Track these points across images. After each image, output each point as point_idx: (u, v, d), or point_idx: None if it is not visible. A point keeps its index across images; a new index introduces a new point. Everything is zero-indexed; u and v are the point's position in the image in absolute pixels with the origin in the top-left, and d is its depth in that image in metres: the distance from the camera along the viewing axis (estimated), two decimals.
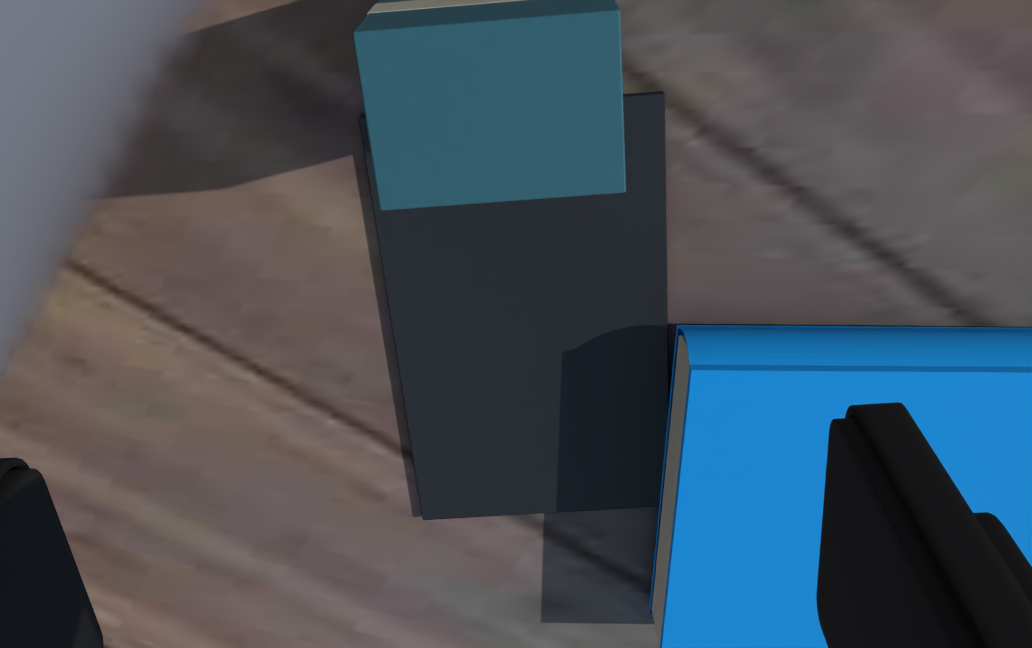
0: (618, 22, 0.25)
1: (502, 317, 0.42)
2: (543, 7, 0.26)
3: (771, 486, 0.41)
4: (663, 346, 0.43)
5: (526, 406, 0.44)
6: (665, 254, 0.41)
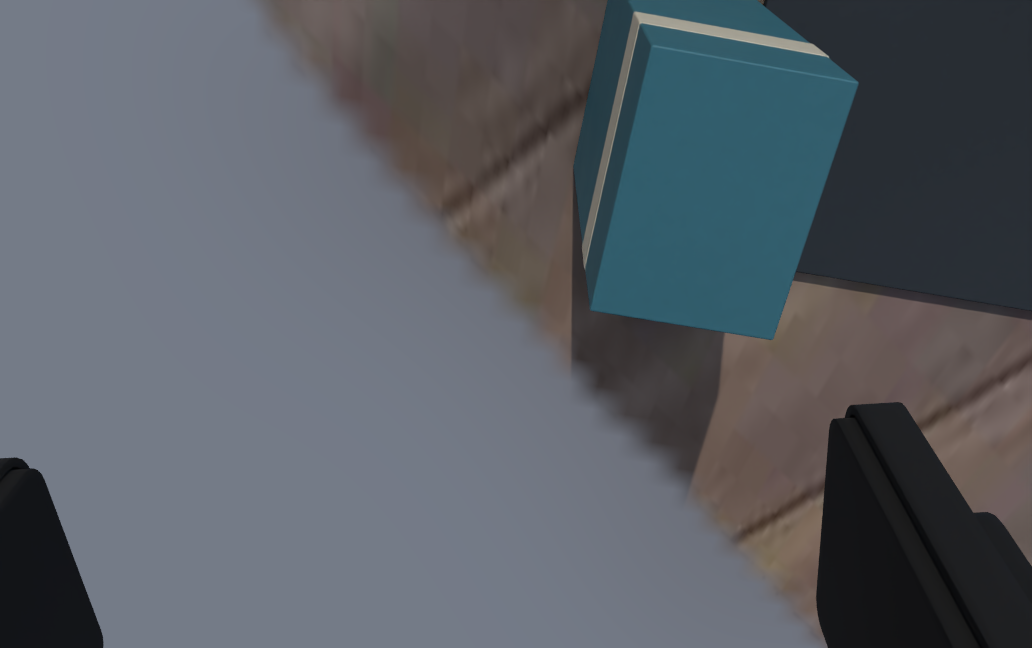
0: (664, 49, 0.22)
1: (973, 176, 0.36)
2: (627, 112, 0.24)
3: None
4: None
5: None
6: None
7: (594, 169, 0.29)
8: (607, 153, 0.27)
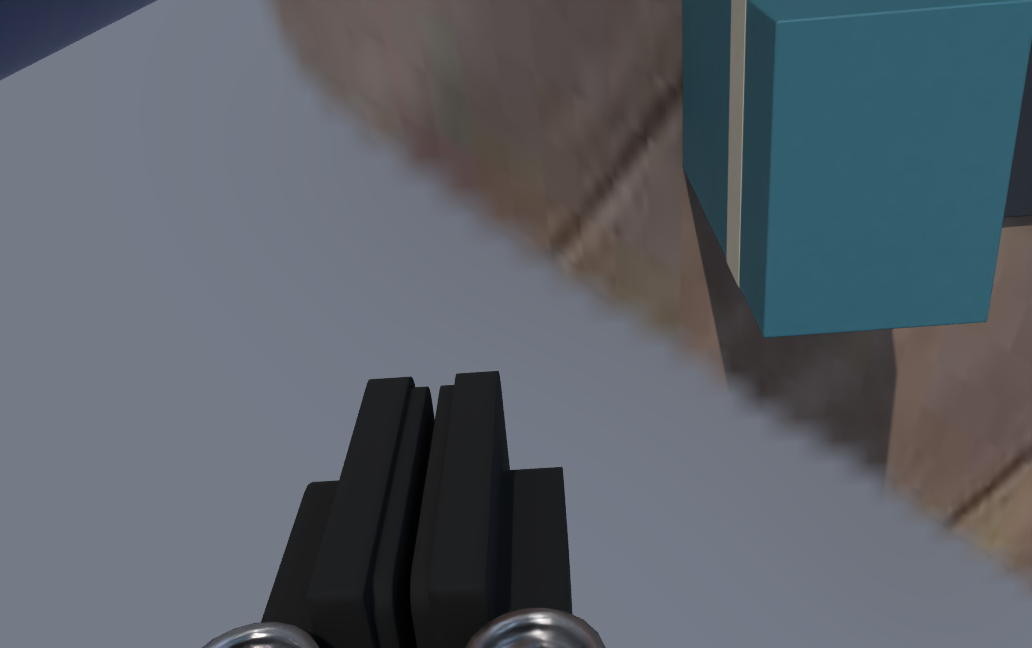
0: (792, 22, 0.19)
1: None
2: (758, 104, 0.21)
3: None
4: None
5: None
6: None
7: (719, 171, 0.26)
8: (737, 153, 0.23)
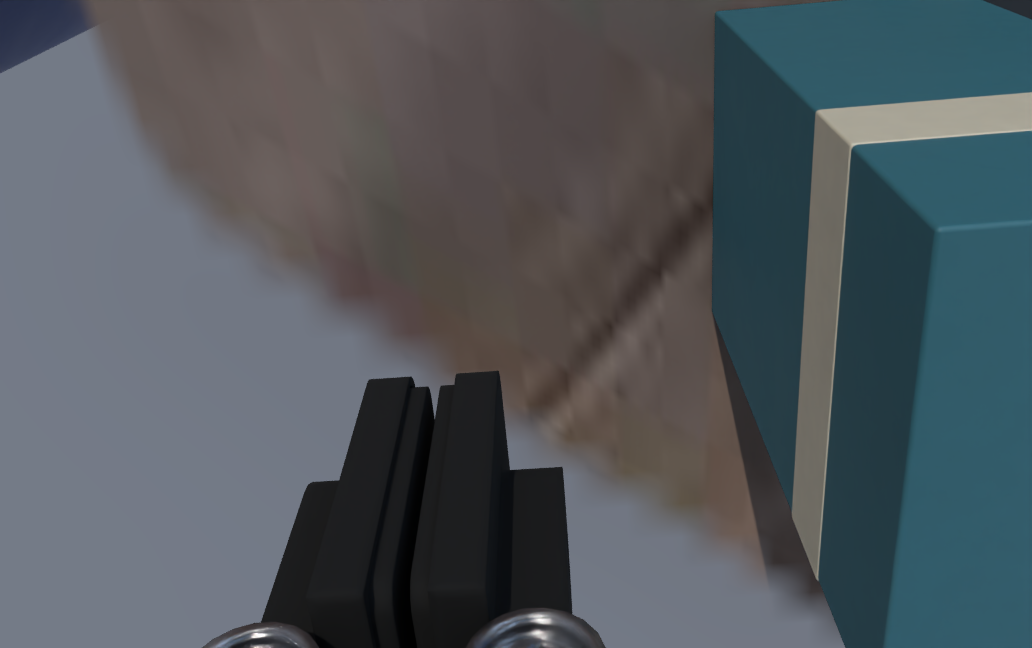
0: (969, 231, 0.10)
1: None
2: (875, 341, 0.12)
3: None
4: None
5: None
6: None
7: (780, 374, 0.17)
8: (821, 381, 0.14)
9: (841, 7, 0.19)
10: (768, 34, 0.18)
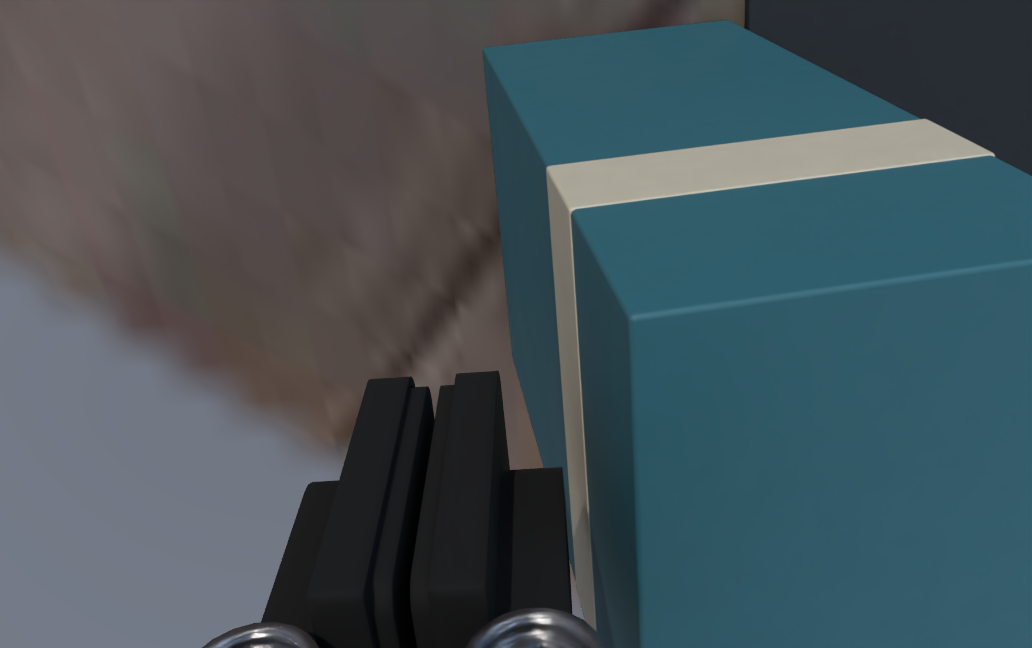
0: (665, 318, 0.08)
1: None
2: (605, 426, 0.10)
3: None
4: None
5: None
6: None
7: (556, 438, 0.15)
8: (578, 456, 0.13)
9: (609, 41, 0.19)
10: (527, 74, 0.17)
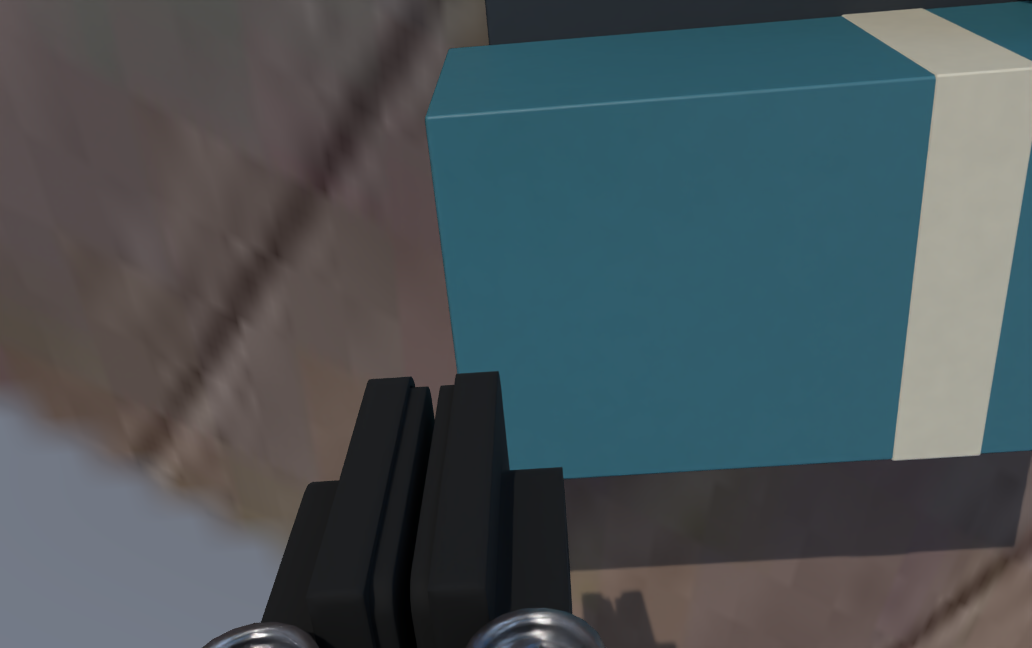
0: None
1: None
2: None
3: None
4: None
5: None
6: None
7: (834, 364, 0.17)
8: (980, 291, 0.16)
9: (481, 76, 0.17)
10: (597, 94, 0.15)
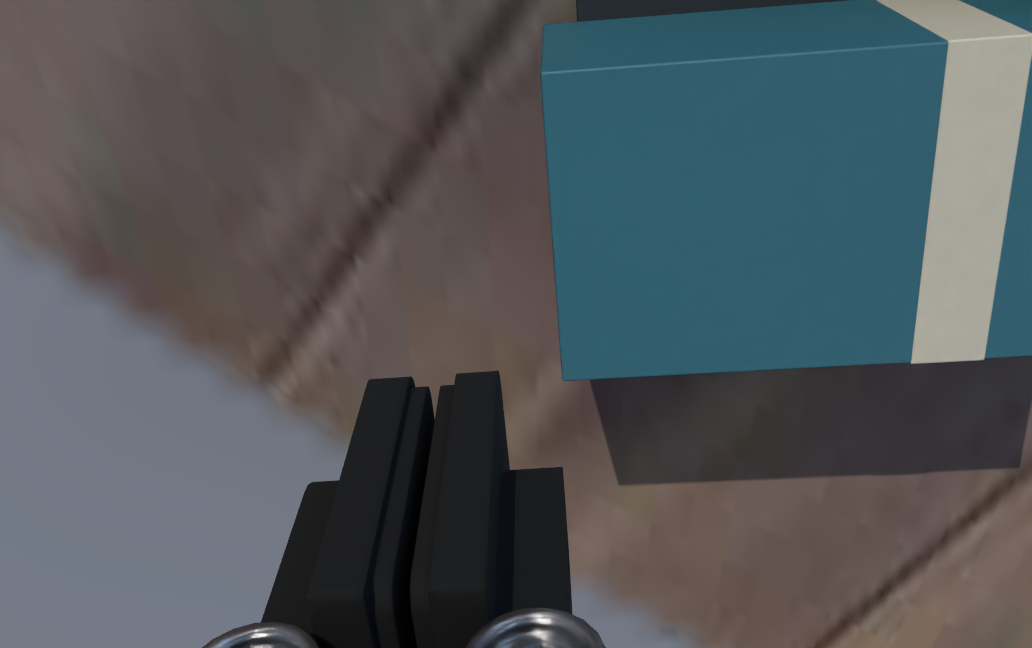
0: None
1: None
2: None
3: None
4: None
5: None
6: None
7: (864, 280, 0.21)
8: (983, 219, 0.20)
9: (577, 44, 0.21)
10: (676, 56, 0.19)
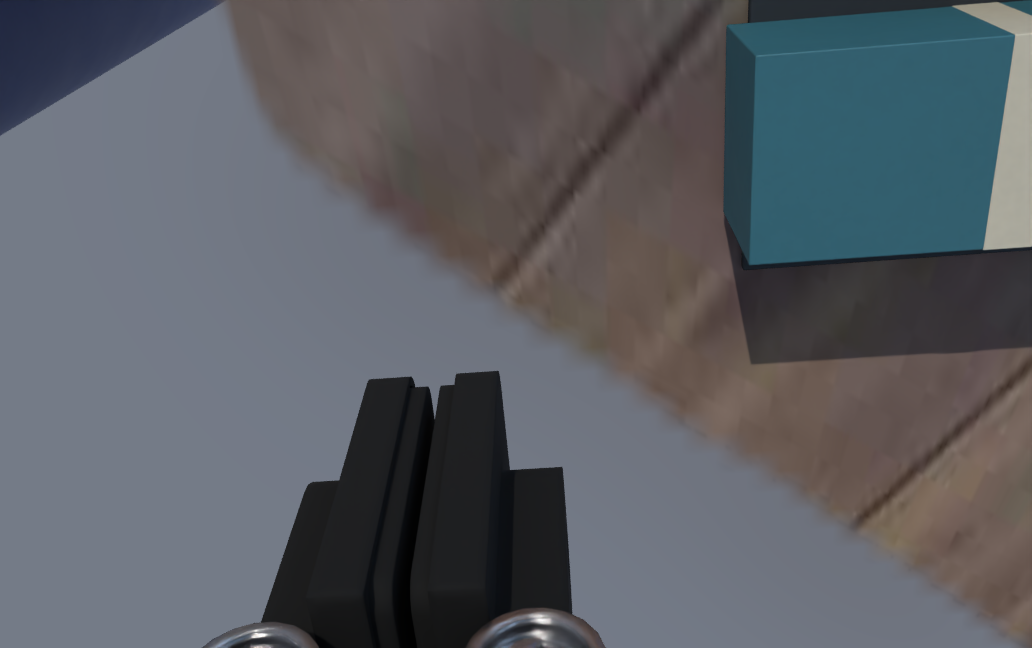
0: None
1: None
2: None
3: None
4: None
5: None
6: None
7: (955, 192, 0.31)
8: None
9: (764, 37, 0.32)
10: (840, 44, 0.30)
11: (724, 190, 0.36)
